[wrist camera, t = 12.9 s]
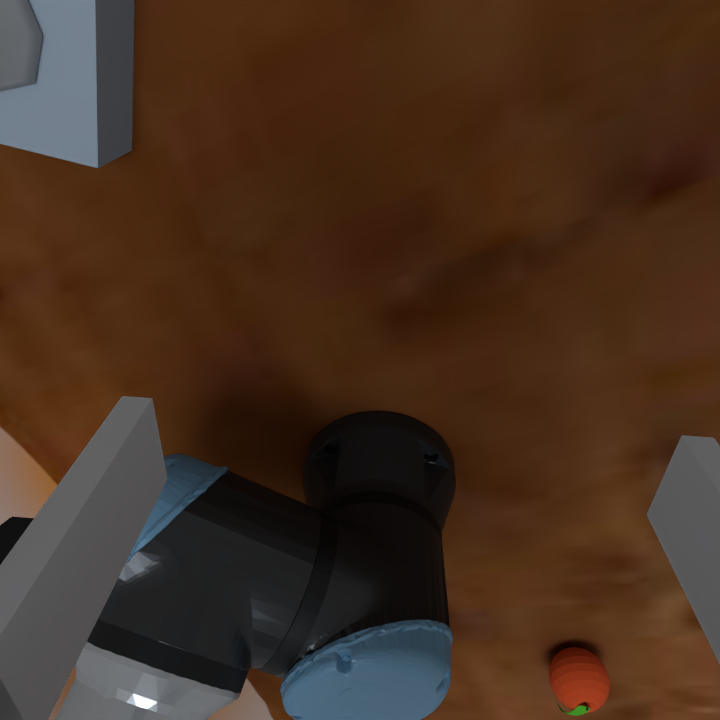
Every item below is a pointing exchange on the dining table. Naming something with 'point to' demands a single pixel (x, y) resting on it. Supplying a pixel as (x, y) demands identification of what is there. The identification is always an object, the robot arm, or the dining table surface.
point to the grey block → (76, 84)
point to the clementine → (579, 680)
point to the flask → (18, 44)
